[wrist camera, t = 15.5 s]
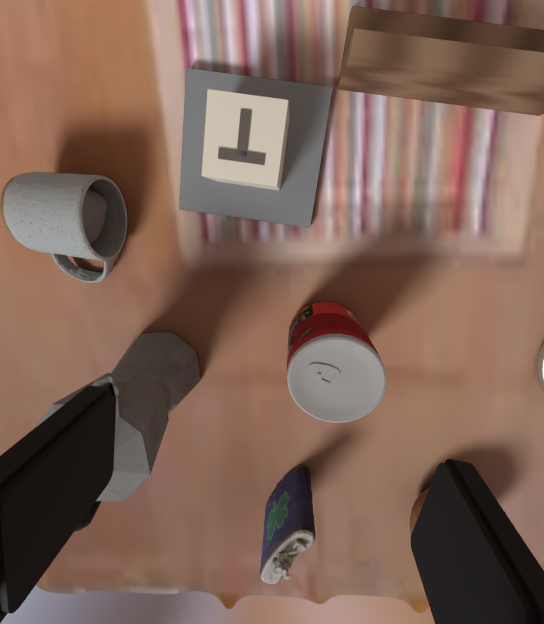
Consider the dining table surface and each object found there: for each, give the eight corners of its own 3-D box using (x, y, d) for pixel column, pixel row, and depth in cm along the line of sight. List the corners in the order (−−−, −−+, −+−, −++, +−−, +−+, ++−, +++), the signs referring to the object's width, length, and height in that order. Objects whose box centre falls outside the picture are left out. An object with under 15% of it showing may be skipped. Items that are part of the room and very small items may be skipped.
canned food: (295, 293, 36) (296, 328, 26) (369, 306, 36) (400, 347, 26) (282, 358, 39) (278, 414, 28) (352, 370, 38) (374, 431, 28)
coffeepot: (136, 301, 38) (4, 380, 20) (217, 329, 38) (153, 429, 21) (110, 414, 42) (-16, 556, 25) (183, 438, 43) (108, 593, 25)
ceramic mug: (46, 173, 34) (-21, 165, 27) (125, 178, 34) (79, 172, 27) (60, 276, 38) (4, 294, 30) (133, 282, 37) (93, 301, 30)
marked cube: (289, 120, 31) (288, 99, 25) (279, 190, 32) (276, 186, 27) (223, 111, 31) (207, 88, 25) (217, 181, 32) (201, 175, 27)
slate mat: (331, 90, 31) (332, 87, 30) (309, 226, 34) (310, 227, 33) (189, 72, 31) (186, 67, 30) (182, 209, 34) (179, 209, 33)
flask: (277, 518, 45) (273, 607, 35) (258, 508, 45) (248, 595, 35) (315, 470, 43) (322, 552, 33) (295, 459, 42) (296, 538, 32)
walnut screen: (563, 41, 28) (645, -11, 22) (538, 115, 30) (608, 89, 23) (349, 13, 29) (366, -45, 22) (337, 89, 30) (349, 55, 24)
